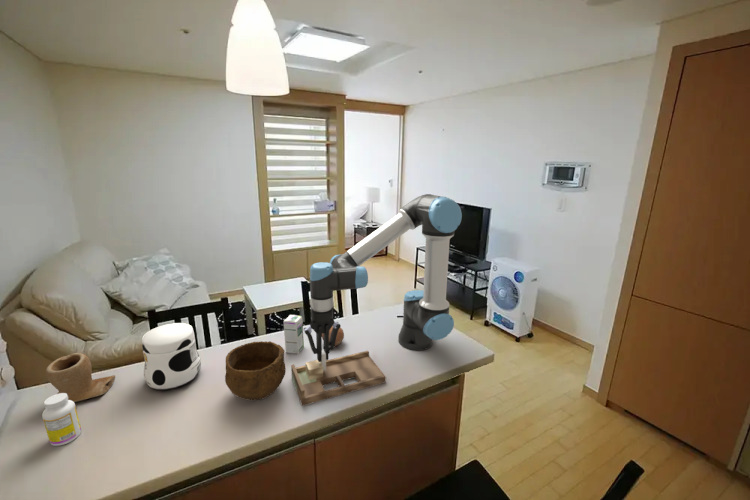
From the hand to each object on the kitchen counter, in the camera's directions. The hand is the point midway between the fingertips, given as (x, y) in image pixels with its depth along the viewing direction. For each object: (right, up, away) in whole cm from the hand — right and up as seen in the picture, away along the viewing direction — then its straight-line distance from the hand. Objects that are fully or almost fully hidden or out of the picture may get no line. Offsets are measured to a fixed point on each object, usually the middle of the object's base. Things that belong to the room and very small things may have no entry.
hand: (323, 368), depth 121 cm
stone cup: (-77, -6, -11) cm, 78 cm away
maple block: (-3, -2, -1) cm, 4 cm away
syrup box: (-15, +1, +19) cm, 24 cm away
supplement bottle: (-68, -10, -27) cm, 74 cm away
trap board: (+5, -4, +1) cm, 7 cm away
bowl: (-21, -6, -7) cm, 23 cm away
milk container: (-53, -4, -1) cm, 53 cm away
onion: (+1, +2, +24) cm, 24 cm away
